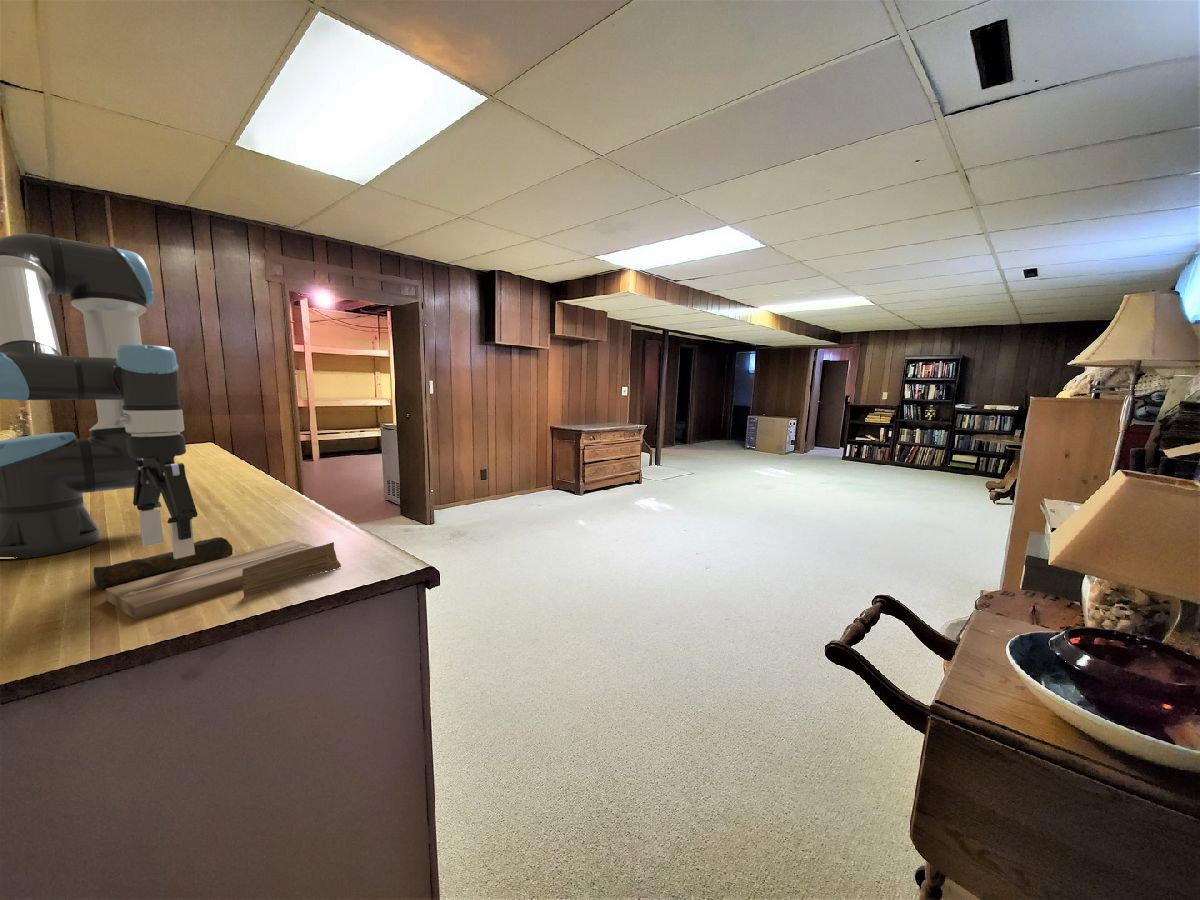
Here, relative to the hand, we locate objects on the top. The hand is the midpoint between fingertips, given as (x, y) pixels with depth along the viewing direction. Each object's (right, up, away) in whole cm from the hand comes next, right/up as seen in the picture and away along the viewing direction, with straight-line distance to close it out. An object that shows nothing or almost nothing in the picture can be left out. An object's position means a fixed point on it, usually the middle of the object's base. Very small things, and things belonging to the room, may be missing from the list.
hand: (168, 549), depth 84 cm
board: (+13, -5, -2) cm, 14 cm away
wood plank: (+25, -5, -3) cm, 26 cm away
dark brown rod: (-1, -4, +1) cm, 5 cm away
